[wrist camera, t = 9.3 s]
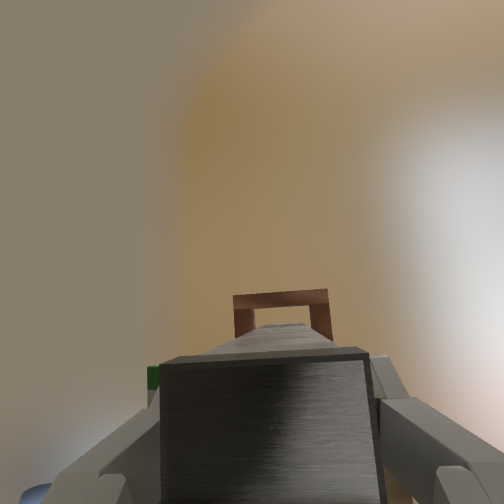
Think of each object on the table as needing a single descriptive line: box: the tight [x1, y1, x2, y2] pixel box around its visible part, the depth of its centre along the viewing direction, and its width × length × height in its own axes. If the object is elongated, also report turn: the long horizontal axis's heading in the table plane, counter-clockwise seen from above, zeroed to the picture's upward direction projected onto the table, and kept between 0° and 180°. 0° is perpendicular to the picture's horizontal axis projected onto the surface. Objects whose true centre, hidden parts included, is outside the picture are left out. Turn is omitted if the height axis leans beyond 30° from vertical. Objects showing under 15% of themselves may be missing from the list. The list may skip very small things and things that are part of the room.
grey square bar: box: [159, 322, 388, 504], centre depth 17 cm, size 3×24×3 cm, turn 174°
